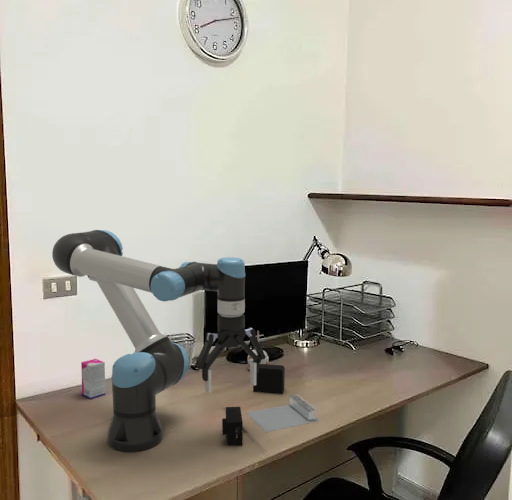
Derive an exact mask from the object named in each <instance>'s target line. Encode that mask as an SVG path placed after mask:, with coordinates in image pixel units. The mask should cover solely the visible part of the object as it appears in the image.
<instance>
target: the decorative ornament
mask: <svg viewBox="0 0 512 500" xmlns="http://www.w3.org/2000/svg"><path fill="white" fill-rule="evenodd" d="M256 334H257V335H256V338H257V340H258V342H259V343H260V330H257V331H256ZM251 350H252V351H253V352H254V353H255V354H256V356H257V355H258V354H257V352H256V350H255V349H251ZM263 352H264V354H265V356H266V358H265V359H262V360H261V363H259V364H269V363H270V362H269V358H270V357H269V355H268V353H267V352H266V351H265V350H263ZM251 360H253V359H252V358H251V357H250V355H249V354H247V363H248V365H247V366H246V367H247V369H248V370H249V371H250V361H251Z"/></svg>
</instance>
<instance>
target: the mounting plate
mask: <svg viewBox="0 0 512 500" xmlns="http://www.w3.org/2000/svg"><path fill="white" fill-rule="evenodd" d="M246 414H247V415H248V416H249V417H250V418H251V419H252V420H253V422H254V423H255V424H257V425H258V427H260V428H261V429H262V430H263V431H264V432H265V433H269V432H275V431H278V430H282V429H288V428H294V427H298V426H302V425H307V424H313V423H317V422H320V421H321V420H320V419H319V418H318V417H317V420H313V421H307V420H306V419H305V418H304V417H302V416H301V415H300V414H299V413H297V412H296V411H295V410H294V409H293V408H291V407H290V404H285V405H279V406H275V407H270V408H269V407H268V408H265V409H259V410H253V411H248V412H246Z"/></svg>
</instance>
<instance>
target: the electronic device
mask: <svg viewBox="0 0 512 500" xmlns="http://www.w3.org/2000/svg"><path fill="white" fill-rule="evenodd" d="M285 369H286V368H285V366H284V365H282V364H281V365H280V364H269V363H268V364H259V373H256V385H255V386H254V385H253V384H252V392H253V393H264V394H274V395H283V394H284V392H285V378H286V377H285Z"/></svg>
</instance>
